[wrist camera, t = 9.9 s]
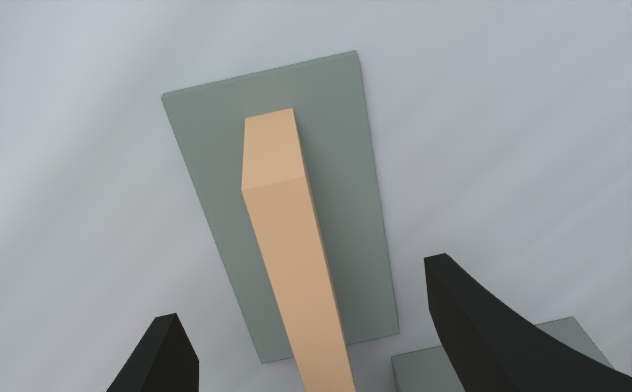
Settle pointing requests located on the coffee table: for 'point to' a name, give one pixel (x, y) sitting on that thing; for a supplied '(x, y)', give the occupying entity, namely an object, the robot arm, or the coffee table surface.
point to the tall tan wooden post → (294, 250)
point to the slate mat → (325, 180)
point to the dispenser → (441, 379)
